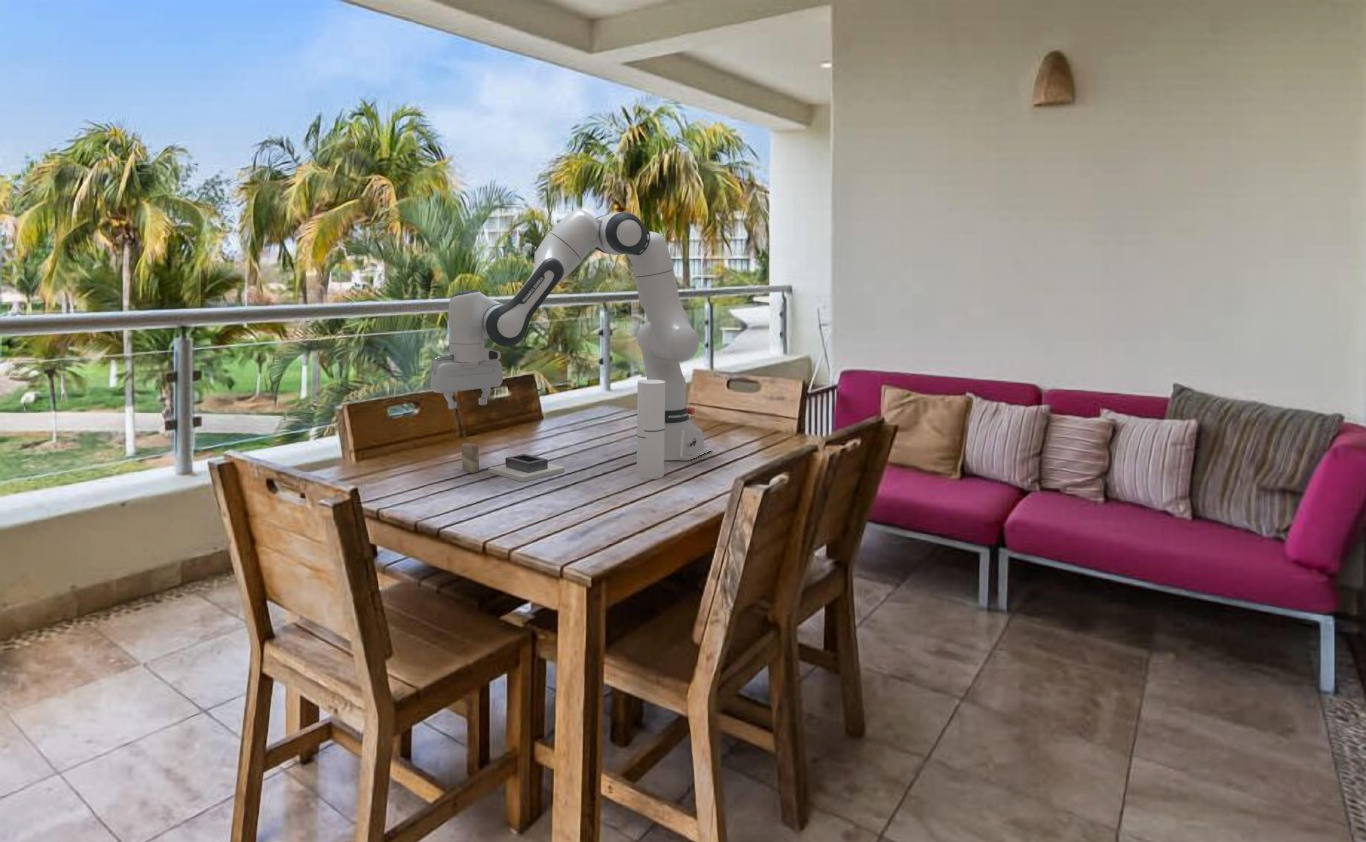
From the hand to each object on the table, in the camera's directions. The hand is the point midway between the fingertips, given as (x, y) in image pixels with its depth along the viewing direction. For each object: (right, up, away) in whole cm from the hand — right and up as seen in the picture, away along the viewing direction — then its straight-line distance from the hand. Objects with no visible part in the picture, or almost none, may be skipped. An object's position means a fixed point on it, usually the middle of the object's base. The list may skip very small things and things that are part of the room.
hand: (468, 406), depth 213 cm
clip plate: (+15, -17, +3) cm, 23 cm away
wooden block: (0, -17, +3) cm, 17 cm away
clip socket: (+15, -16, +3) cm, 22 cm away
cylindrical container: (+48, -18, +2) cm, 51 cm away
